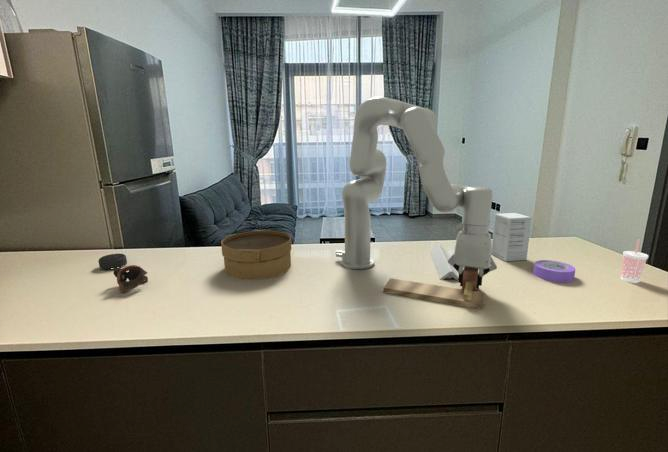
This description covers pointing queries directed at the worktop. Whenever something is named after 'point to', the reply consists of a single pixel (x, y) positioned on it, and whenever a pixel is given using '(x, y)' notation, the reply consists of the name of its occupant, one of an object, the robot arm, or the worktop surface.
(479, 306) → the oak board
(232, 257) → the steamer basket
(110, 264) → the smart speaker
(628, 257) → the beverage cup
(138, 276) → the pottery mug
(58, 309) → the worktop surface
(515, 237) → the supplement box
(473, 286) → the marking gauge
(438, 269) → the crown molding
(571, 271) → the masking tape
